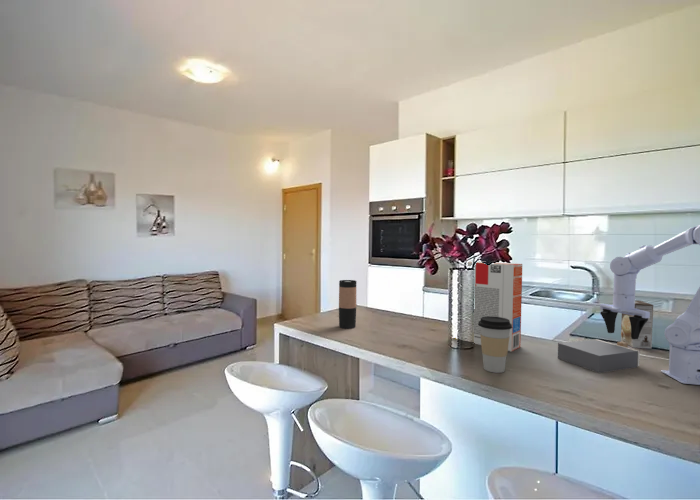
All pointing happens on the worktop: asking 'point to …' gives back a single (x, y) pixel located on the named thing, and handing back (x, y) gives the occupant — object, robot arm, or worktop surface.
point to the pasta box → (498, 297)
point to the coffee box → (646, 332)
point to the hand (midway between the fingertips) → (622, 335)
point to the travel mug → (347, 304)
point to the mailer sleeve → (597, 355)
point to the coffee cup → (494, 342)
